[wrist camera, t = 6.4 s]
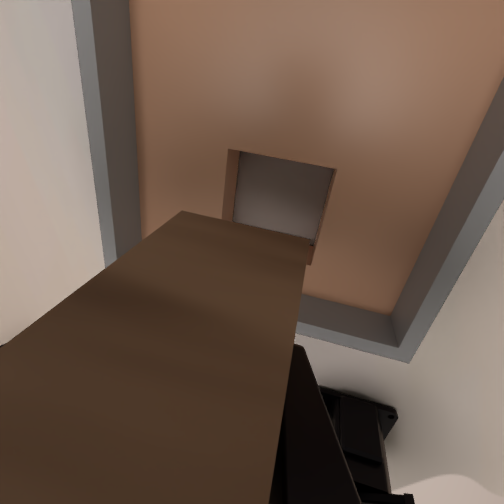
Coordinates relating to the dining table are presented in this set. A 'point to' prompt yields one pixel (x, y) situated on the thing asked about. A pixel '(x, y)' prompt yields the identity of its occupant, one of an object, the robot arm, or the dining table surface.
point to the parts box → (308, 137)
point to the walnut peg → (157, 373)
